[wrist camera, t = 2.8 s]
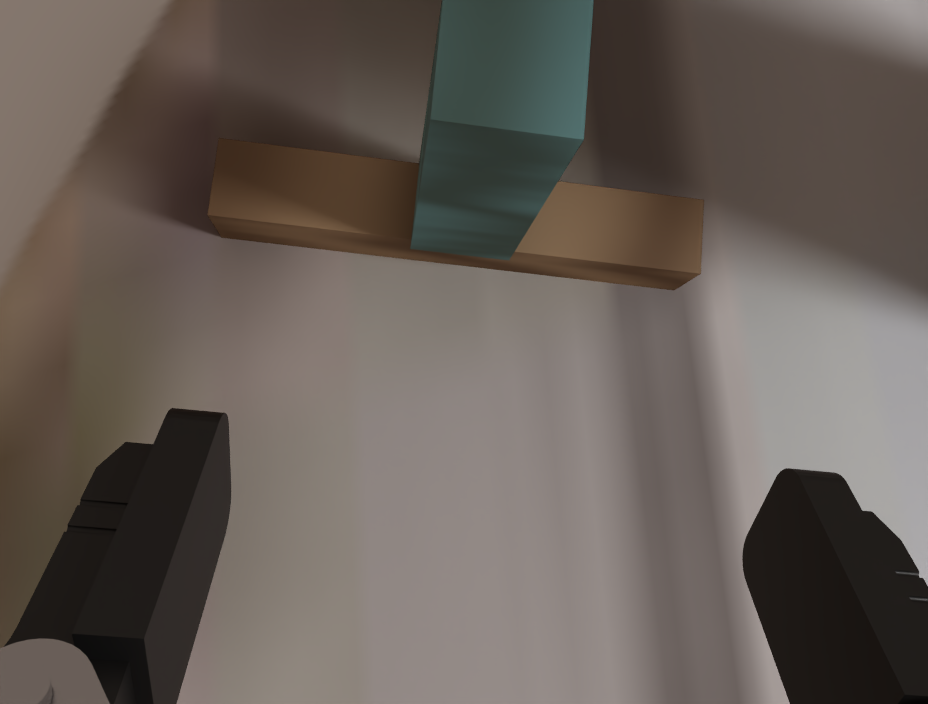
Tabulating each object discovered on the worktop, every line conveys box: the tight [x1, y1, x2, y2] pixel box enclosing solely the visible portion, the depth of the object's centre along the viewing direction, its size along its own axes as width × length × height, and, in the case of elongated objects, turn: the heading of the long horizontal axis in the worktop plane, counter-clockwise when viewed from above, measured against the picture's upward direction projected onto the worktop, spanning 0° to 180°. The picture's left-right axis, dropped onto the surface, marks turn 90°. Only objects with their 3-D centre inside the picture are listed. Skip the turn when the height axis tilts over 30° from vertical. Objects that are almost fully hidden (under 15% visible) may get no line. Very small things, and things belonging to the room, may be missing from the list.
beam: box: [208, 0, 704, 290], centre depth 22 cm, size 15×3×11 cm, turn 85°
